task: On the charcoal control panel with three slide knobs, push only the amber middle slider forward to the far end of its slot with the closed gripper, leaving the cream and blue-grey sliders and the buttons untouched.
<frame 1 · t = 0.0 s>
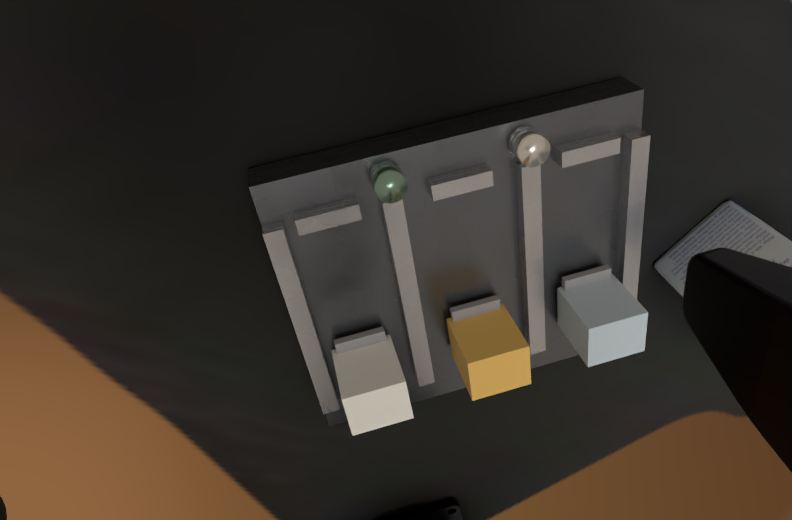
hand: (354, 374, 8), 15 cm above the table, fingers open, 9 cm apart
medicine box: (722, 269, 30), on the table
slider blue: (600, 318, 25), point 3 cm above the table, slide at 0.0 cm
slider cream: (371, 383, 24), point 3 cm above the table, slide at 0.0 cm
panel: (457, 257, 25), on the table
slider amber: (488, 350, 24), point 3 cm above the table, slide at 0.0 cm
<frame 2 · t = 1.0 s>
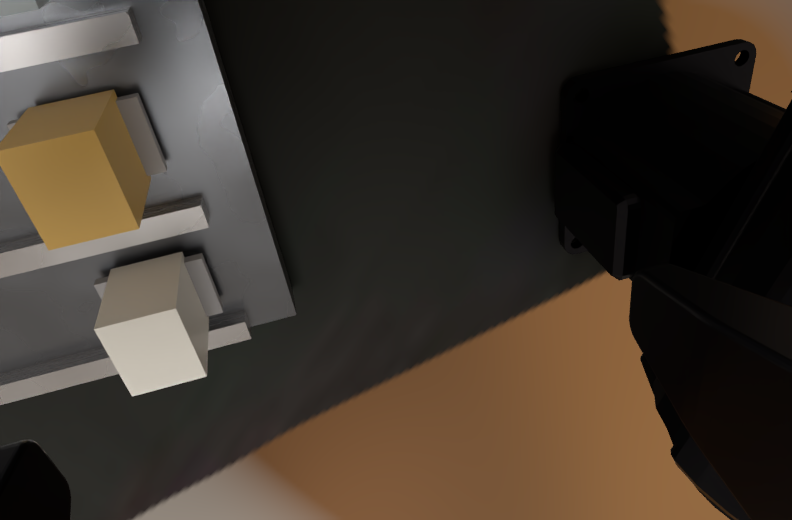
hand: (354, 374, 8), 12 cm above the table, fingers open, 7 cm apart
slider cream: (157, 321, 17), point 3 cm above the table, slide at 0.0 cm
panel: (10, 140, 16), on the table
slider amber: (82, 166, 14), point 3 cm above the table, slide at 0.0 cm
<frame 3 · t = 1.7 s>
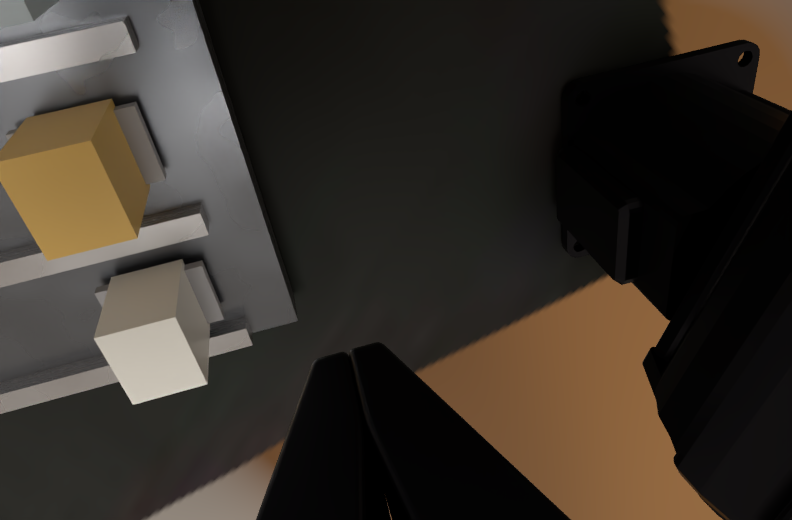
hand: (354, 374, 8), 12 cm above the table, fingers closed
slider cream: (158, 329, 17), point 3 cm above the table, slide at 0.0 cm
panel: (9, 149, 16), on the table
slider amber: (80, 176, 14), point 3 cm above the table, slide at 0.0 cm
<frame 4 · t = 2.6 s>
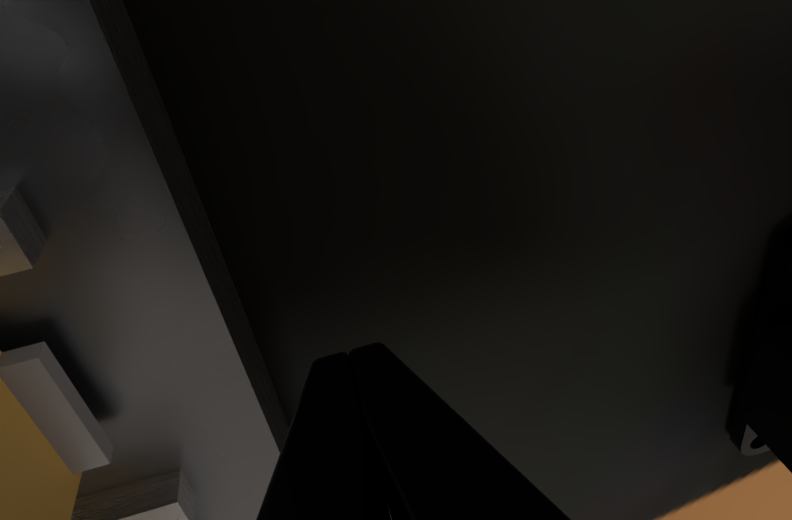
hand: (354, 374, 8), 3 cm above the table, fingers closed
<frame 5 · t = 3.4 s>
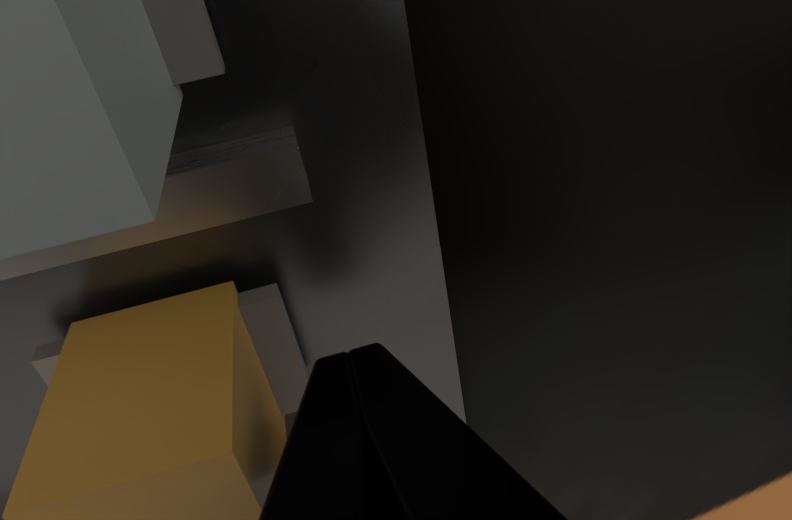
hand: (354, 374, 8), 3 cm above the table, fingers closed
panel: (49, 331, 9), on the table
slider amber: (180, 449, 7), point 3 cm above the table, slide at 0.2 cm, touching gripper
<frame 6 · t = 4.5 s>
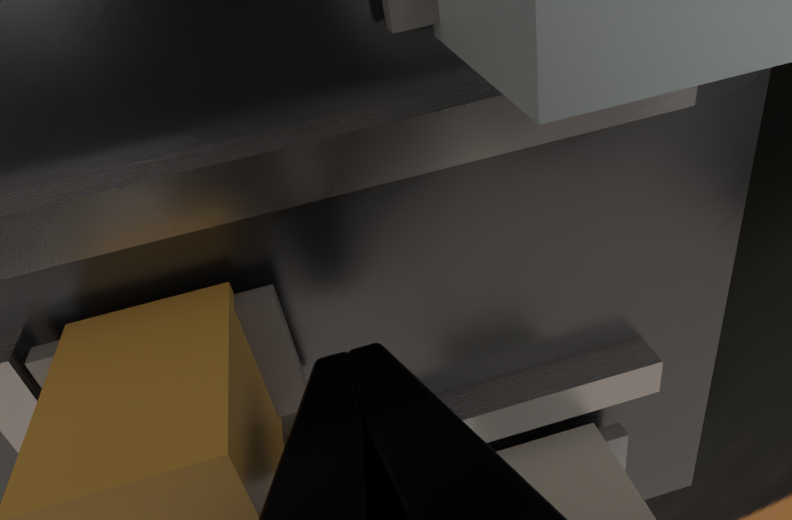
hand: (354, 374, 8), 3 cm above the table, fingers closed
panel: (342, 254, 10), on the table
slider amber: (175, 451, 7), point 3 cm above the table, slide at 5.0 cm, touching gripper
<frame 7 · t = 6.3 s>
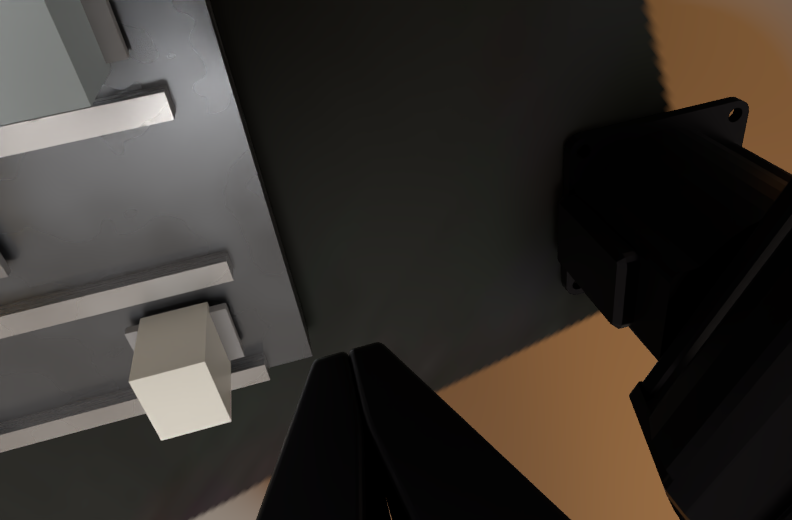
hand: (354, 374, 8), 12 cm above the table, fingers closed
slider blue: (28, 39, 12), point 3 cm above the table, slide at 0.0 cm
slider cream: (185, 369, 18), point 3 cm above the table, slide at 0.0 cm
panel: (47, 199, 17), on the table
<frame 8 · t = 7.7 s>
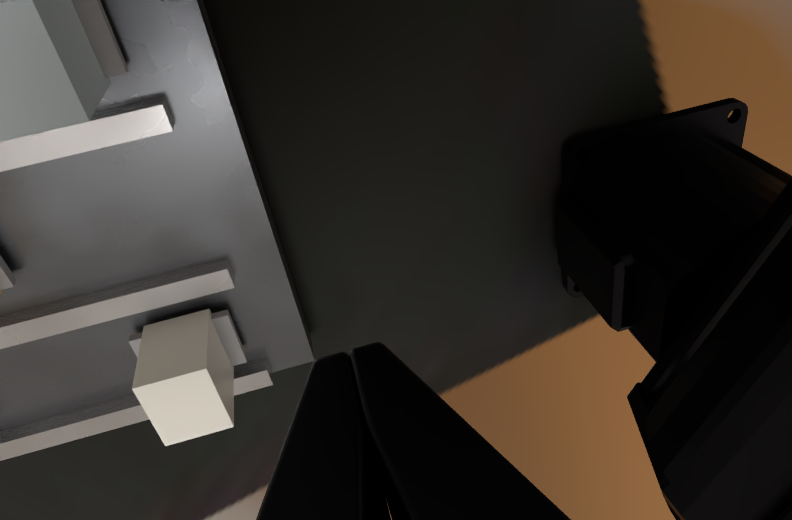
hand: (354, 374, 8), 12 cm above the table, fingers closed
slider blue: (27, 56, 13), point 3 cm above the table, slide at 0.0 cm
slider cream: (187, 375, 18), point 3 cm above the table, slide at 0.0 cm
panel: (51, 210, 18), on the table
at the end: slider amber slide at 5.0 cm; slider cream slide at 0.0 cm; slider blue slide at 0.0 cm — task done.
